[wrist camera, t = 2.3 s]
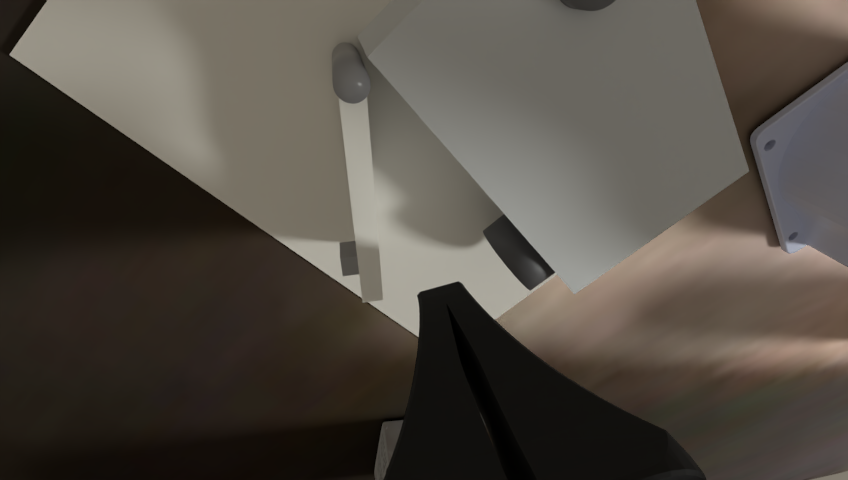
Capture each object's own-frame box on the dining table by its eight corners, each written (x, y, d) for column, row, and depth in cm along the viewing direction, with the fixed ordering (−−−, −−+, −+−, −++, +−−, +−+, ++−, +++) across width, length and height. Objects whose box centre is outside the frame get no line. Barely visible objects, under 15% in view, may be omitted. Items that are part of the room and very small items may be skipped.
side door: (313, 43, 12) (307, 65, 9) (359, 41, 13) (369, 63, 9) (341, 246, 16) (344, 308, 13) (375, 242, 17) (386, 303, 14)
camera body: (666, 133, 17) (764, 178, 13) (509, 253, 19) (555, 324, 15) (539, -154, 11) (651, -223, 7) (330, 63, 13) (331, 100, 9)
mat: (692, 169, 18) (697, 172, 18) (443, 351, 22) (445, 355, 22) (407, -502, 8) (409, -517, 8) (16, 53, 11) (9, 54, 11)
